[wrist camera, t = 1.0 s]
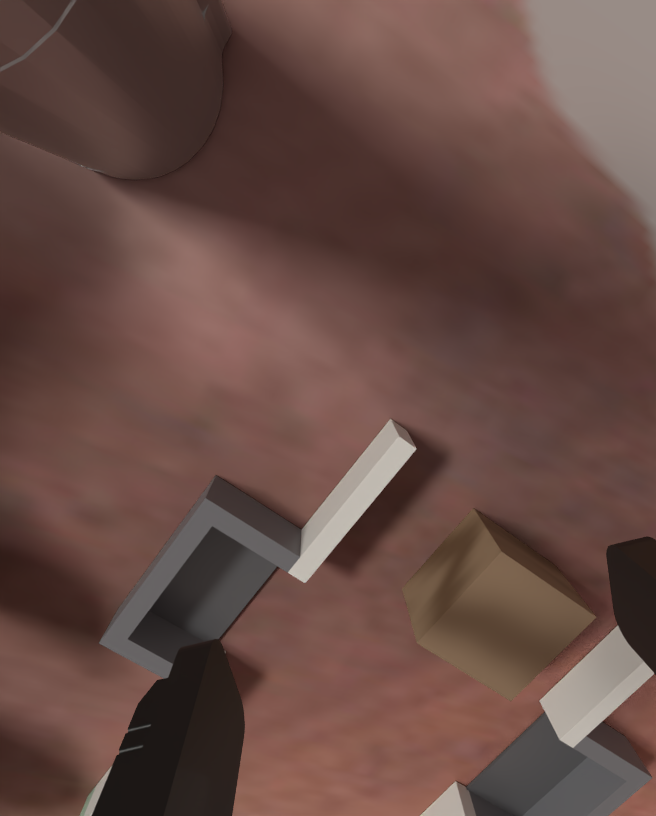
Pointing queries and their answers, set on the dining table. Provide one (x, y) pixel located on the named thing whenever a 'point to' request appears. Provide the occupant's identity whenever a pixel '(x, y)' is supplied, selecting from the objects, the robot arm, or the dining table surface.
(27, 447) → the dining table surface
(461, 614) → the walnut block
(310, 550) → the track
